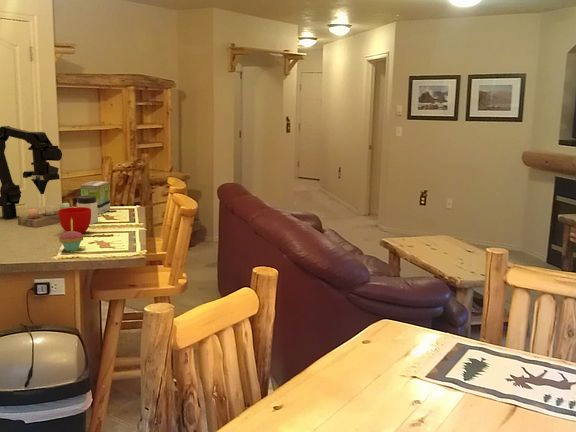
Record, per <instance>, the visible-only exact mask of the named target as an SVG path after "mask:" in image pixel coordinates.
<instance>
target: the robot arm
mask: <svg viewBox="0 0 576 432" xmlns="http://www.w3.org/2000/svg"><path fill="white" fill-rule="evenodd" d="M47 135H48V134H47V133H46V132H44V131H29V130H25V129H24V130H23V129H20V128H16V127H11V126H10V125H3V126H0V184H1V186H0V207H1V216H0V219H3V220H10V219H18V218H20V215H17V208H16V207H17V206H16V205H19V204H20V200H21V197H22V191H21V187H20V185H19V184H17V185H16V183H14V182H13V179H12V174H11V170H10V169H9V168H10V167H9V165H8V161H7V159H6V158H7V157H6V154H5V151H6V148H7V144H6V142H7V141H8V140H9V138H10V137H11V138H14V139H19V140H22V141H25V142H26V143H27V144H30V146H29V147H28V148H27V150H28V151H31V152H32V154H31V155H32V162H31V163H30V165H32V166H33V167H32V168H33V170H27V171H23V173H22V178H23V179H28V178H30V180H31V181H32V183H33V185H35V186H36V188H37V191H38V192H39V193H40V195H45V192H46V187H47V185H48V183H49V182H50V181H54V180H60V174H59V167H57V166H53V165H51V164H50V162H51V161H56V162H57V161H58V162H60V161H61V159H62V158H63V152H62V150H61V149H60V148H59V145H53V143H52V142H51V140H50V139H49V137H48V136H47Z"/></svg>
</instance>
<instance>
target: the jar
mask: <svg viewBox="0 0 576 432" xmlns="http://www.w3.org/2000/svg"><path fill="white" fill-rule="evenodd" d="M76 200H77V202H76V207H86V208H90V209H91V221H90V225H94V224H98V223H99V215H98V208H97V202H96V196H91V195H86V196H81V195H79V196H77V197H76Z"/></svg>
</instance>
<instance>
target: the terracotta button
mask: <svg viewBox="0 0 576 432" xmlns="http://www.w3.org/2000/svg"><path fill="white" fill-rule="evenodd" d="M27 211H28V216H29V219H37V218H39V214H40V213H39V208H33V207H32V208H28V210H27Z"/></svg>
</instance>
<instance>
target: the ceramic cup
mask: <svg viewBox="0 0 576 432" xmlns="http://www.w3.org/2000/svg"><path fill="white" fill-rule="evenodd" d="M58 210H59V211H58ZM58 210H57V211H58V215H59V220H60V223H59V224H60V226H61V228H62V229H63V230H64V232H66V231H71V217H72V220H73V231H77V232H79V233H81V234H82V235H83V234H85V232H86V231H87V230H88V228H89V227H90V225H91V224H90V221H91V209H90V208H86V207H77V206H76V207H75V206H74V207H70V208H64V209H61V208H60V209H58Z"/></svg>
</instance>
